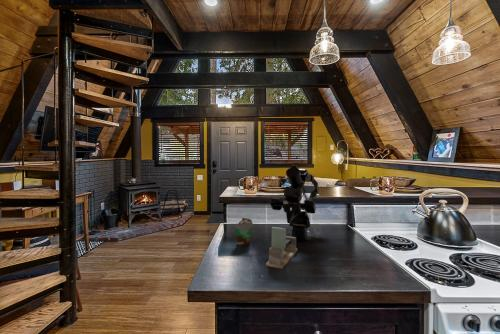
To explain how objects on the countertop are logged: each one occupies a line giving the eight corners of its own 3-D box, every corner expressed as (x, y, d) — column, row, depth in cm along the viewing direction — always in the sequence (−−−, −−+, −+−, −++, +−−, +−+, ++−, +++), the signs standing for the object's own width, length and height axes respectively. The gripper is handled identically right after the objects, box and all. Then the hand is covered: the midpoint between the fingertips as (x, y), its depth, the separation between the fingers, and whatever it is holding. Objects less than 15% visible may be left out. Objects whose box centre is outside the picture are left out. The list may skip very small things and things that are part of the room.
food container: (249, 248, 115) (250, 224, 114) (235, 247, 116) (235, 223, 116) (255, 239, 127) (255, 218, 126) (242, 238, 128) (242, 217, 128)
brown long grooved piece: (283, 248, 114) (283, 234, 114) (297, 250, 112) (297, 235, 111) (265, 265, 96) (266, 248, 96) (282, 268, 94) (282, 250, 93)
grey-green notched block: (273, 253, 101) (273, 226, 101) (286, 255, 99) (286, 227, 99) (270, 256, 99) (270, 228, 98) (283, 258, 97) (284, 229, 96)
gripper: (271, 179, 117) (261, 209, 108) (314, 181, 110) (308, 213, 100) (277, 194, 125) (268, 224, 116) (318, 197, 117) (312, 229, 108)
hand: (288, 222), depth 110 cm, fingers closed
